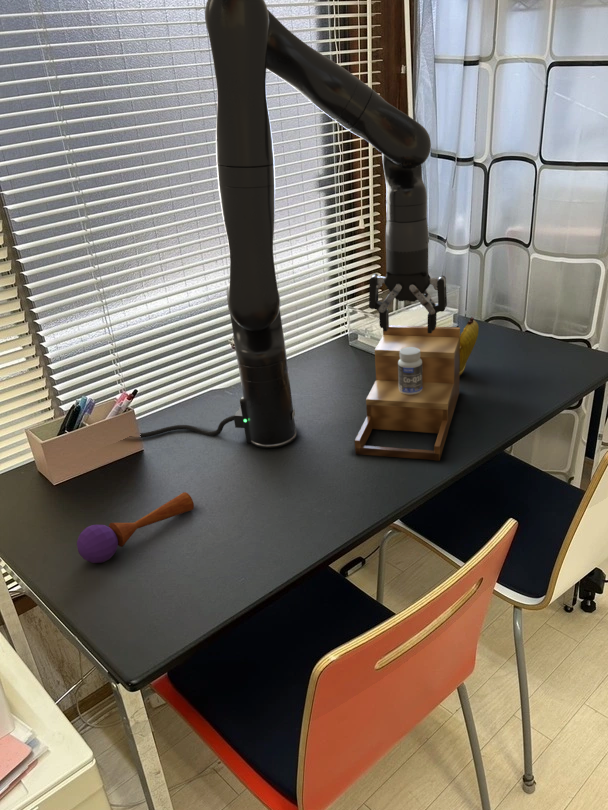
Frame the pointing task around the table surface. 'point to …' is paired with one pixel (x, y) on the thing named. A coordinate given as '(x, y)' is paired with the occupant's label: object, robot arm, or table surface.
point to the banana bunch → (467, 342)
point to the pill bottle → (410, 371)
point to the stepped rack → (415, 410)
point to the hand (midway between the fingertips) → (408, 330)
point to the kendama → (125, 530)
